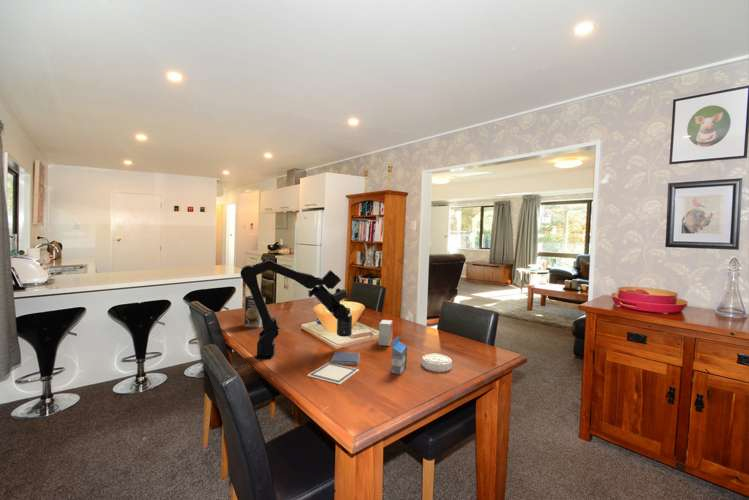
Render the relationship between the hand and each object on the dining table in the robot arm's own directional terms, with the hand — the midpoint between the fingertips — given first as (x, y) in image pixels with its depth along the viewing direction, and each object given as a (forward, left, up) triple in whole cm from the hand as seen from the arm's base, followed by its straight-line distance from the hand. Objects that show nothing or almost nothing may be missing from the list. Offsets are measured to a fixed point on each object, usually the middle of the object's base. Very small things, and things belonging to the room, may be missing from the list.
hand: (347, 320), depth 149 cm
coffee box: (-53, +34, -13) cm, 64 cm away
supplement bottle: (-1, 0, -7) cm, 7 cm away
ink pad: (0, -13, -13) cm, 19 cm away
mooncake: (+37, -18, -14) cm, 44 cm away
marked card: (-4, -27, -13) cm, 30 cm away
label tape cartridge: (+21, -23, -13) cm, 34 cm away
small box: (+18, +9, -13) cm, 25 cm away
